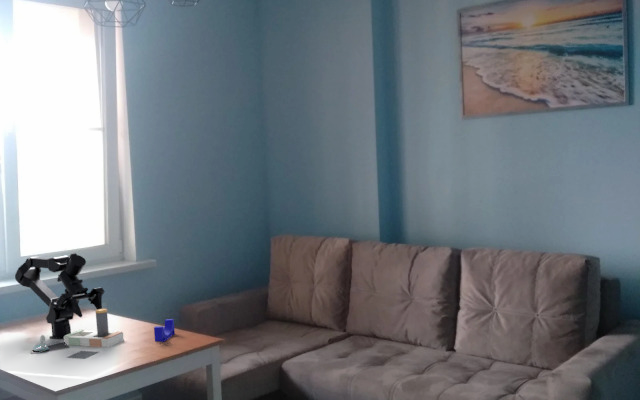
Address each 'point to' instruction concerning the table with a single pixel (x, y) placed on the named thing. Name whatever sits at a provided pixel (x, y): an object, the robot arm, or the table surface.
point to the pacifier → (40, 345)
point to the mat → (82, 354)
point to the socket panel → (93, 338)
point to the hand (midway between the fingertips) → (91, 314)
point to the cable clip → (164, 331)
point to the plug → (102, 322)
